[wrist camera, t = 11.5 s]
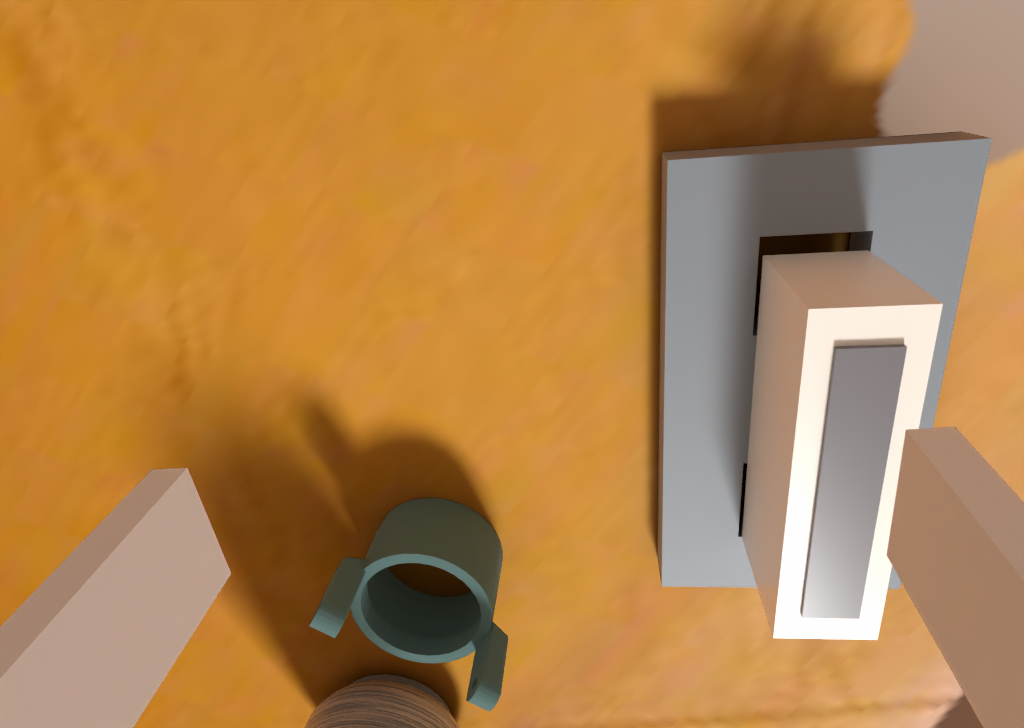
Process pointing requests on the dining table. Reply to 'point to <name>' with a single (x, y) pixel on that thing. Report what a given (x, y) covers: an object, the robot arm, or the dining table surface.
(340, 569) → the bracket
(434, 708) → the vase
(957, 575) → the robot arm
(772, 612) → the block
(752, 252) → the board
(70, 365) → the dining table surface
